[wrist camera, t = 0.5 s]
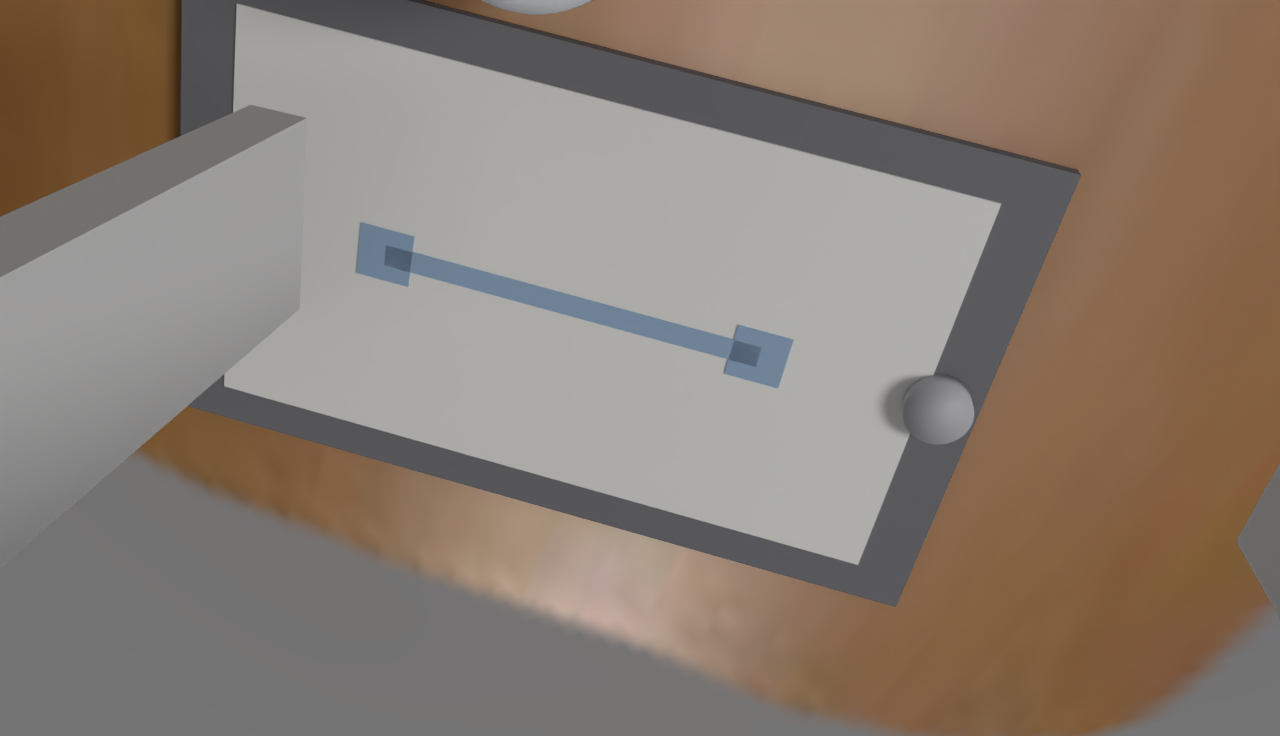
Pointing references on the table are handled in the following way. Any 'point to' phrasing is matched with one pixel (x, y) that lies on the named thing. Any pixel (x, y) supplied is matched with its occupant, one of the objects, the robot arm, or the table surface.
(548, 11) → the pill bottle
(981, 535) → the table surface
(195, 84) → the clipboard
